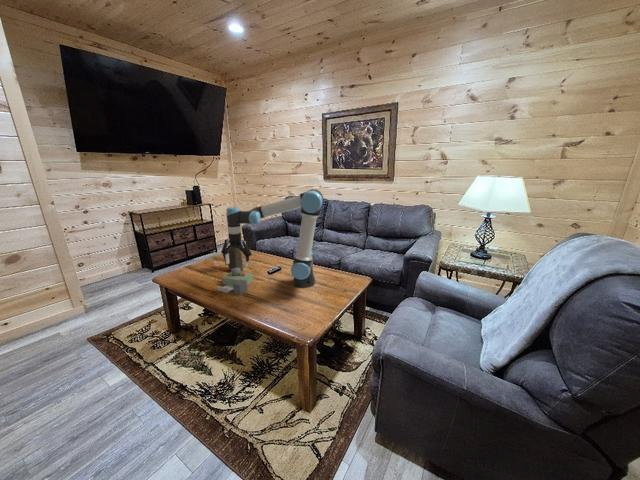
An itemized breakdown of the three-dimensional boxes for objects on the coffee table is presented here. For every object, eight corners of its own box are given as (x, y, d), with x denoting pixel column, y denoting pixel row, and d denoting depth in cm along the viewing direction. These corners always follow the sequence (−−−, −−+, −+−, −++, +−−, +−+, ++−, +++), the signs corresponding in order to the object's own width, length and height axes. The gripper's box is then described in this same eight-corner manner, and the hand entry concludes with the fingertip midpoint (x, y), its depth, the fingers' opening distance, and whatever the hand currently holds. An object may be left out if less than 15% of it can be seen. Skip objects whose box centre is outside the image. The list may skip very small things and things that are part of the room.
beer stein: (246, 267, 207) (242, 243, 201) (241, 273, 196) (237, 247, 191) (227, 268, 208) (223, 244, 203) (221, 273, 198) (217, 248, 193)
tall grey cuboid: (247, 290, 170) (246, 280, 168) (240, 295, 164) (239, 285, 162) (241, 289, 172) (240, 279, 170) (233, 293, 165) (232, 283, 164)
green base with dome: (253, 280, 184) (252, 268, 181) (232, 294, 165) (230, 281, 162) (234, 277, 190) (233, 265, 187) (212, 289, 171) (210, 276, 168)
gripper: (256, 232, 161) (257, 265, 167) (220, 229, 168) (223, 260, 174) (249, 235, 154) (251, 269, 160) (213, 232, 161) (216, 264, 167)
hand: (237, 265), depth 167 cm, fingers open, 13 cm apart
